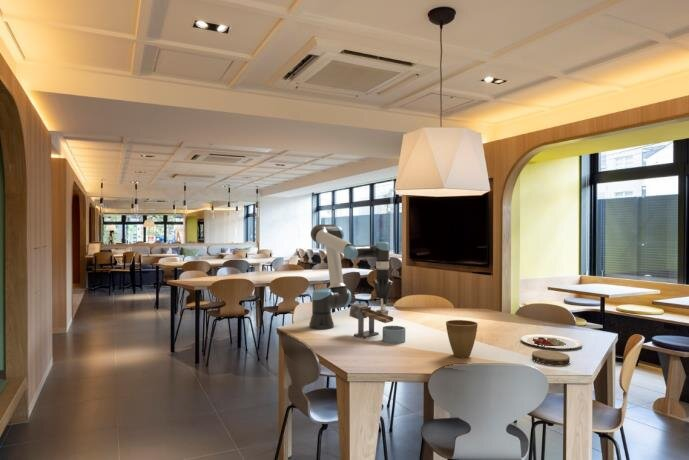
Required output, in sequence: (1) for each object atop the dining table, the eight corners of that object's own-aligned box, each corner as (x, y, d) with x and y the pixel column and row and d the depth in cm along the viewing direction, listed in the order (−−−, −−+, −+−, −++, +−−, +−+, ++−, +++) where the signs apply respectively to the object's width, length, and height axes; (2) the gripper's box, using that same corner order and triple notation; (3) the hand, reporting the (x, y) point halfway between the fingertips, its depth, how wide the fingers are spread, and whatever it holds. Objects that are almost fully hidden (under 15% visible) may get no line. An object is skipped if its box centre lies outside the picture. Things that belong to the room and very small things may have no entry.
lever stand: (353, 336, 257) (353, 312, 257) (367, 332, 267) (367, 309, 267) (364, 338, 252) (365, 314, 252) (378, 334, 262) (378, 311, 262)
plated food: (583, 342, 249) (583, 335, 249) (580, 354, 223) (580, 347, 223) (525, 335, 264) (525, 329, 264) (515, 346, 238) (516, 340, 238)
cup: (378, 341, 247) (378, 328, 247) (391, 337, 256) (391, 324, 256) (397, 344, 239) (397, 331, 239) (409, 340, 248) (409, 327, 248)
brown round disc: (547, 354, 222) (547, 348, 222) (577, 363, 208) (577, 356, 208) (524, 359, 215) (524, 352, 215) (554, 368, 201) (554, 361, 201)
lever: (349, 316, 263) (350, 304, 262) (364, 312, 274) (365, 301, 273) (384, 328, 247) (386, 316, 246) (398, 324, 258) (400, 313, 257)
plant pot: (482, 355, 219) (483, 322, 219) (468, 361, 208) (468, 327, 208) (454, 349, 229) (455, 318, 229) (439, 355, 218) (440, 322, 218)
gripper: (369, 268, 262) (370, 309, 262) (388, 269, 254) (388, 311, 254) (377, 268, 268) (377, 308, 268) (395, 268, 260) (396, 310, 259)
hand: (383, 309), depth 261 cm, fingers closed
